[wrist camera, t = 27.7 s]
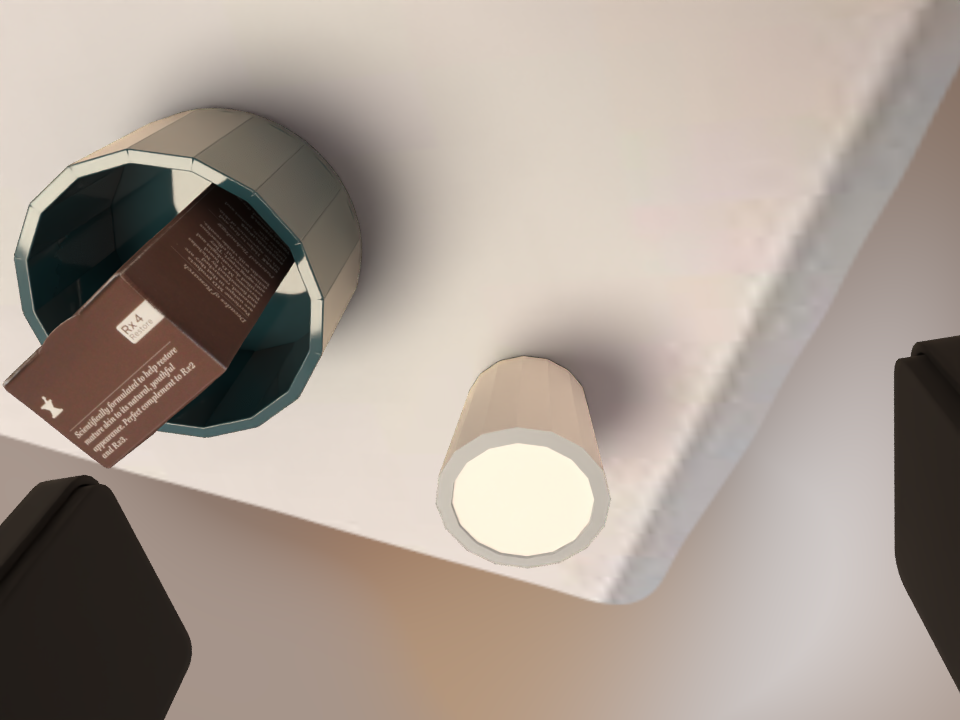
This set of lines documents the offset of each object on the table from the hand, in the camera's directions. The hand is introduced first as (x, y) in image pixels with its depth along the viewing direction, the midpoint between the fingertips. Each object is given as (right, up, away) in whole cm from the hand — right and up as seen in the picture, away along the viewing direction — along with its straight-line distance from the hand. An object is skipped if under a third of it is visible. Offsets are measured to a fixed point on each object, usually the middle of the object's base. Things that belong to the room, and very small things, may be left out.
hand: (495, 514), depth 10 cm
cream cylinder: (+2, 0, +29) cm, 29 cm away
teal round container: (-11, +7, +26) cm, 29 cm away
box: (-10, +7, +25) cm, 28 cm away
